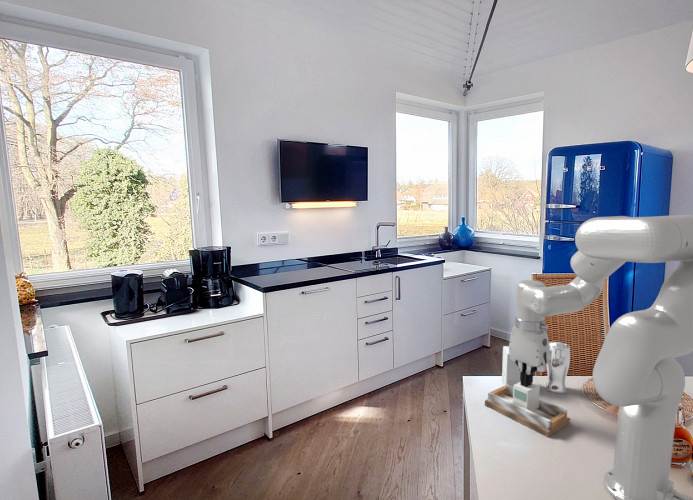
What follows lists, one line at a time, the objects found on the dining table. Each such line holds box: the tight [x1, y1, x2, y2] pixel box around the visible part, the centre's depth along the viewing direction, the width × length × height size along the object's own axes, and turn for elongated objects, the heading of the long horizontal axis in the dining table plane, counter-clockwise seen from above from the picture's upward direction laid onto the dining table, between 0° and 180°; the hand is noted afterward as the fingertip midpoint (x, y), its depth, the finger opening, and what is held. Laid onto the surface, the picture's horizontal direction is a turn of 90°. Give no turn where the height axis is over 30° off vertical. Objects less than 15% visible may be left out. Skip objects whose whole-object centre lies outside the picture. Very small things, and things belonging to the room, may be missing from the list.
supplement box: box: [501, 345, 528, 387], centre depth 134 cm, size 7×7×13 cm
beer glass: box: [545, 341, 571, 394], centre depth 131 cm, size 7×7×15 cm
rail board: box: [484, 385, 571, 438], centre depth 117 cm, size 20×11×4 cm, turn 34°
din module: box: [513, 382, 541, 411], centre depth 117 cm, size 4×6×7 cm
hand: (526, 384), depth 116 cm, fingers closed
